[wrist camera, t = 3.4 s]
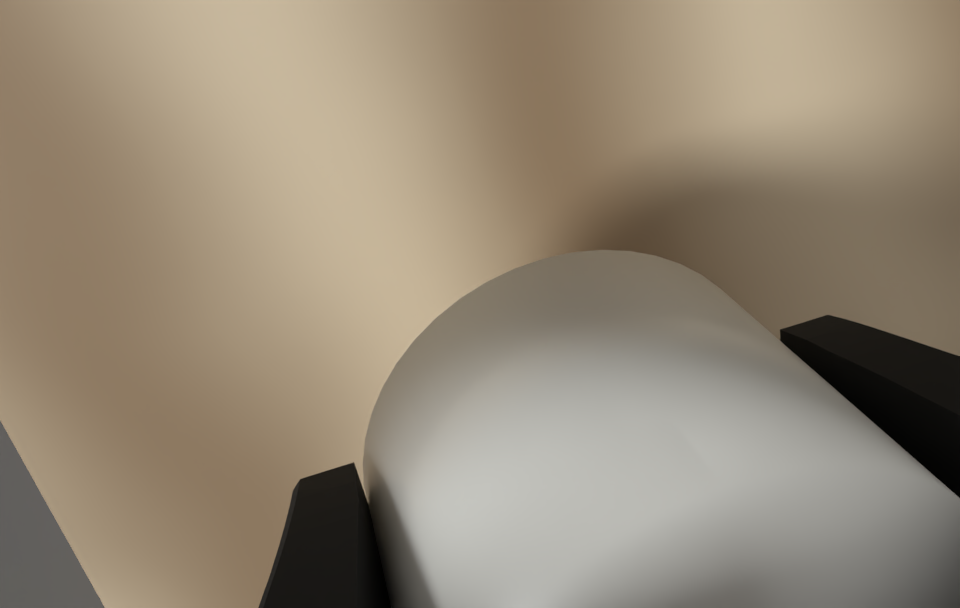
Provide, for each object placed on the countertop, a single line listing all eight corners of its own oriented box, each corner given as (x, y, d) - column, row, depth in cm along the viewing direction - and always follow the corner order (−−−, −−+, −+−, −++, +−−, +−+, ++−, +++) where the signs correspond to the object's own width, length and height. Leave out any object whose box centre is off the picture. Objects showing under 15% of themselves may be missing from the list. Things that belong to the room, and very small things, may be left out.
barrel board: (349, 997, 22) (366, 1167, 19) (-168, 22, 11) (-313, 81, 8) (954, 770, 23) (1051, 894, 21) (1039, -265, 12) (1268, -298, 10)
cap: (414, 656, 12) (515, 1076, 8) (311, 323, 9) (379, 681, 5) (770, 536, 12) (1033, 865, 8) (759, 197, 10) (1119, 431, 6)
